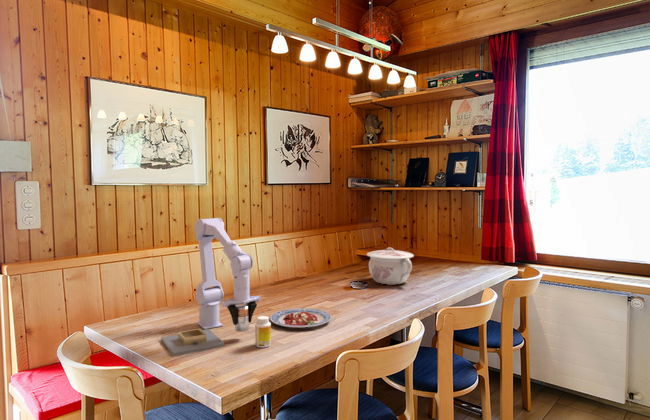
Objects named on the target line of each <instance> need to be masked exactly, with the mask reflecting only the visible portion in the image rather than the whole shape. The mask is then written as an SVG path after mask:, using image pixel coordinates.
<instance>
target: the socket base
mask: <svg viewBox="0 0 650 420" xmlns="http://www.w3.org/2000/svg"><path fill="white" fill-rule="evenodd" d="M201 330H202V331H203V332H204V333H205V334H206V335H207V342H201V343H198V344H197V345H194V344H191V345H186V346H184V345H183V344H182V343H181V342H180V341H179V340H178V334H172V335H168V336H163V337H160V340H161V342H162V343H163V344H164V346H165V347H166V349H167V350H168V351H169V353H170V354H171V355H172V356H173V357H176V356H181V355H186V354H190V353H194V352H195V353H196V352H201V351H204V350H205V351H207V350H210V349H214V348H215V349H216V348H220V347H224V346H225V344H226V343H225V342H224V341H223V340H222V339H221V338H220V337H219V336H217V334H215V333H214V332H213V331H212V330H211V329H210V328H208V329H201Z"/></svg>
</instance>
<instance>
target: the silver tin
mask: <svg viewBox="0 0 650 420" xmlns="http://www.w3.org/2000/svg"><path fill="white" fill-rule="evenodd" d="M235 306H236V308H238V310H237V325H234V326H235V328H234V329H235V331H236V332H242V333H243V332H247V331H249V330H250V325H249V324H250V323H249V305H247V304H239V305H235Z"/></svg>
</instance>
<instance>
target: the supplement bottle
mask: <svg viewBox="0 0 650 420" xmlns="http://www.w3.org/2000/svg"><path fill="white" fill-rule="evenodd" d="M269 319H270V317H269V316H268V315H267V316H266V315H261V316H258V317H257V319H256V320H257V321H256V322H255V325H254V326H255V327H254V329H255V331H254V333H255V337H254V338H255V346H256V347H257V348H262V349H263V348H267V347H270V346H271V344H272V323H271V321H269Z"/></svg>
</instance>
